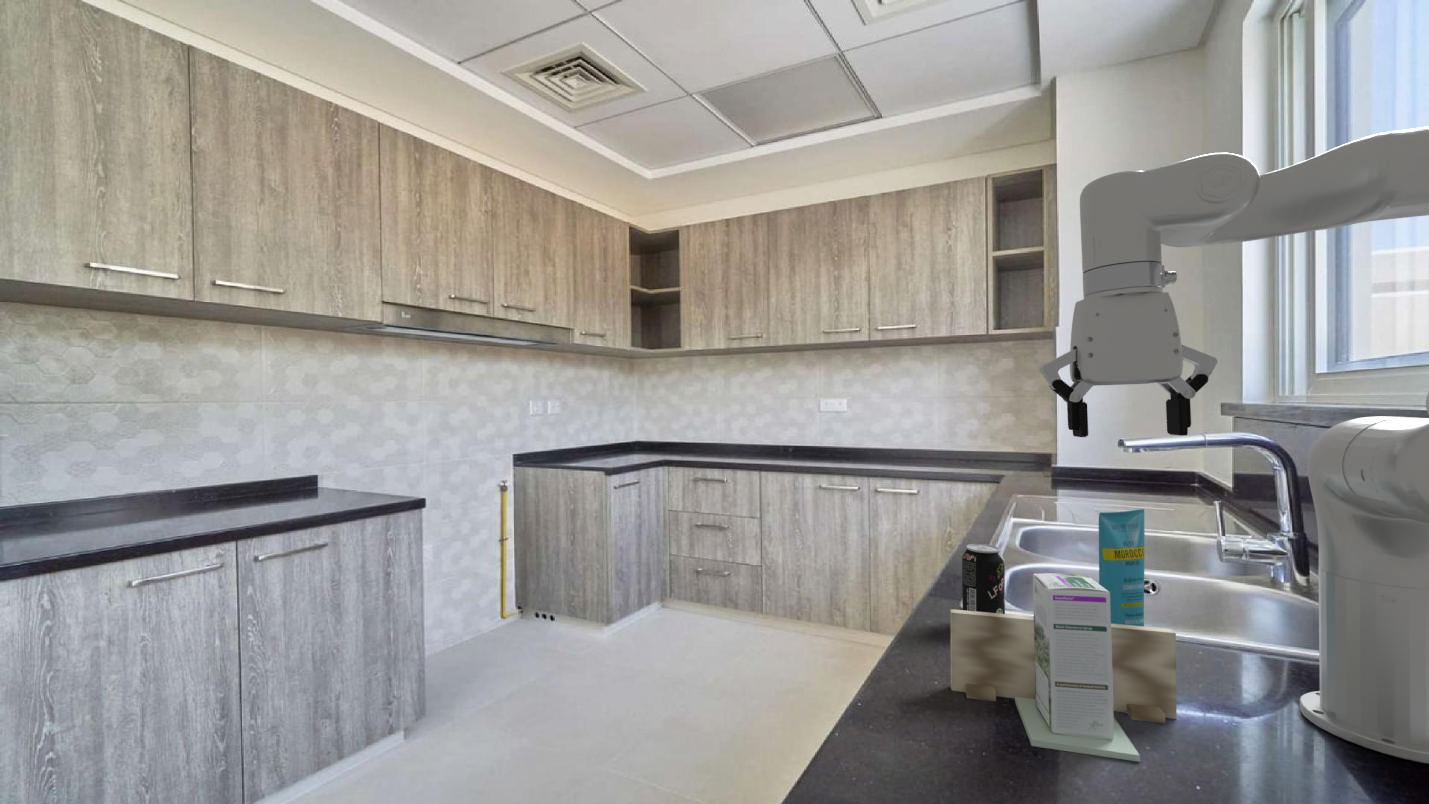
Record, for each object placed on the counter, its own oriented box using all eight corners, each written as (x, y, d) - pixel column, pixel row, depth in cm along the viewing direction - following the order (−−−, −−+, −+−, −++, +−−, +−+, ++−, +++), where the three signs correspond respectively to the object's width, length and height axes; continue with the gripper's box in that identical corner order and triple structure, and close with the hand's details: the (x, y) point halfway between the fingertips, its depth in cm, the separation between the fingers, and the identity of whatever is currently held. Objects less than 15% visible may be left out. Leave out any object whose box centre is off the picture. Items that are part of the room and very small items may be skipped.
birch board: (1166, 707, 66) (1165, 624, 66) (1182, 725, 62) (1181, 638, 62) (950, 680, 72) (949, 605, 72) (952, 695, 68) (952, 616, 68)
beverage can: (1003, 624, 91) (1003, 544, 91) (1006, 638, 85) (1005, 553, 85) (962, 619, 93) (962, 541, 93) (962, 632, 87) (962, 549, 88)
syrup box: (1116, 741, 58) (1115, 590, 58) (1049, 734, 59) (1047, 586, 59) (1093, 712, 64) (1092, 574, 64) (1032, 706, 65) (1030, 571, 65)
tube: (1120, 669, 75) (1119, 515, 75) (1084, 654, 80) (1083, 508, 80) (1160, 659, 78) (1159, 511, 78) (1122, 646, 82) (1121, 505, 82)
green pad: (1108, 714, 64) (1108, 708, 64) (1139, 761, 56) (1139, 755, 56) (1015, 702, 67) (1015, 696, 67) (1031, 745, 58) (1031, 739, 58)
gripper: (1193, 285, 70) (1199, 432, 70) (1030, 297, 75) (1035, 435, 74) (1230, 271, 63) (1237, 435, 63) (1046, 285, 67) (1053, 439, 67)
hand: (1128, 435), depth 68 cm, fingers open, 9 cm apart
